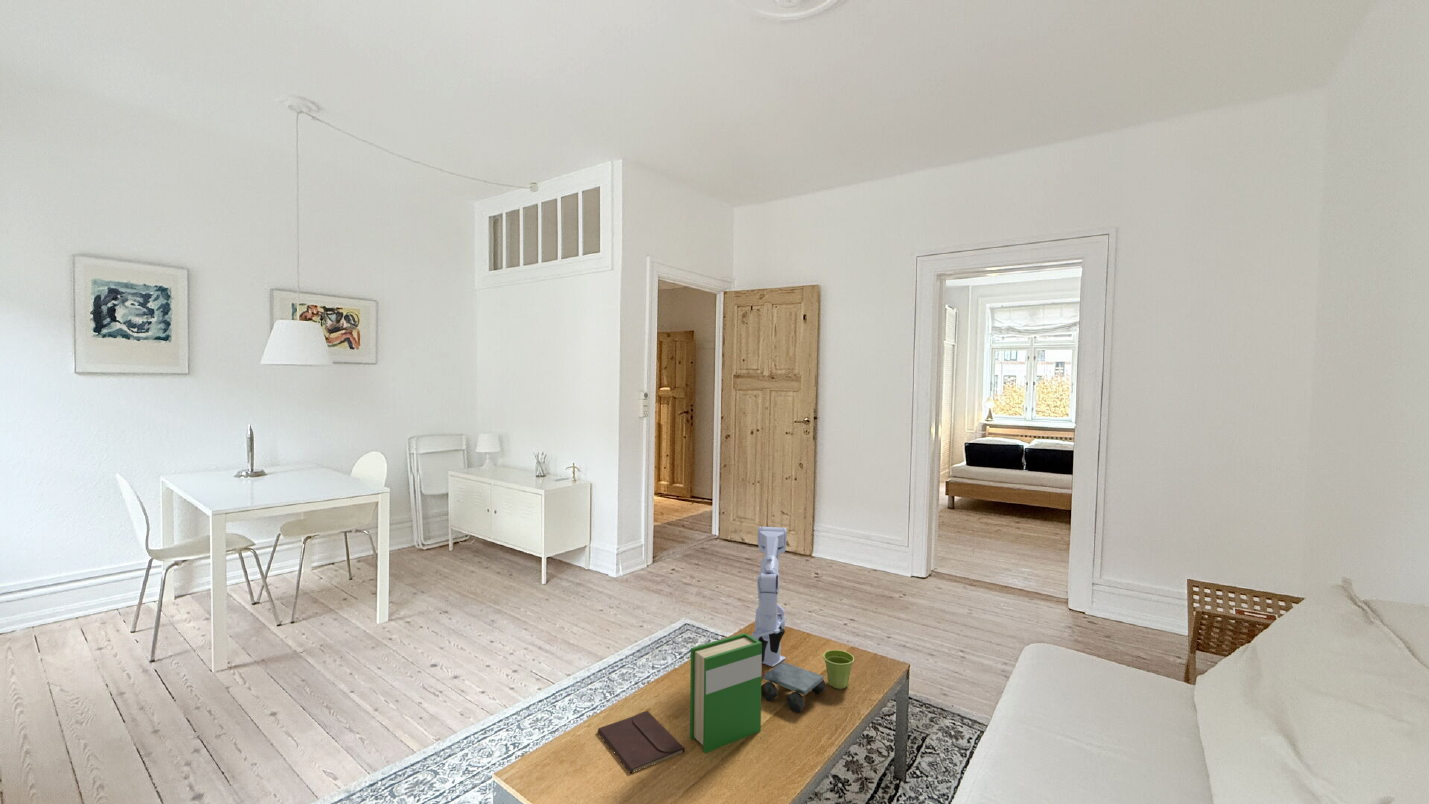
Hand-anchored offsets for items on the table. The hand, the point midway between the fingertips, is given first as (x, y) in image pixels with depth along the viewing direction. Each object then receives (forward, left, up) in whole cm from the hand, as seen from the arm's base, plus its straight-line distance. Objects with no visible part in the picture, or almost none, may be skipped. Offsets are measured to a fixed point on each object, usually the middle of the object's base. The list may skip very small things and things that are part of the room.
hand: (767, 656), depth 181 cm
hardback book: (+5, -28, -10) cm, 30 cm away
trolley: (+9, 0, -9) cm, 13 cm away
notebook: (-10, -44, -10) cm, 47 cm away
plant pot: (+16, +15, -10) cm, 24 cm away
